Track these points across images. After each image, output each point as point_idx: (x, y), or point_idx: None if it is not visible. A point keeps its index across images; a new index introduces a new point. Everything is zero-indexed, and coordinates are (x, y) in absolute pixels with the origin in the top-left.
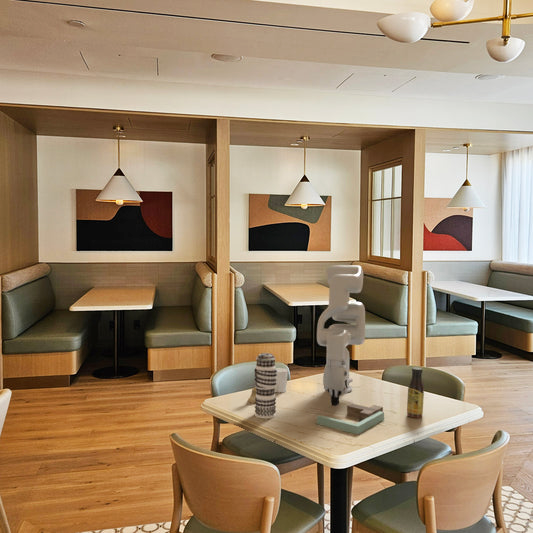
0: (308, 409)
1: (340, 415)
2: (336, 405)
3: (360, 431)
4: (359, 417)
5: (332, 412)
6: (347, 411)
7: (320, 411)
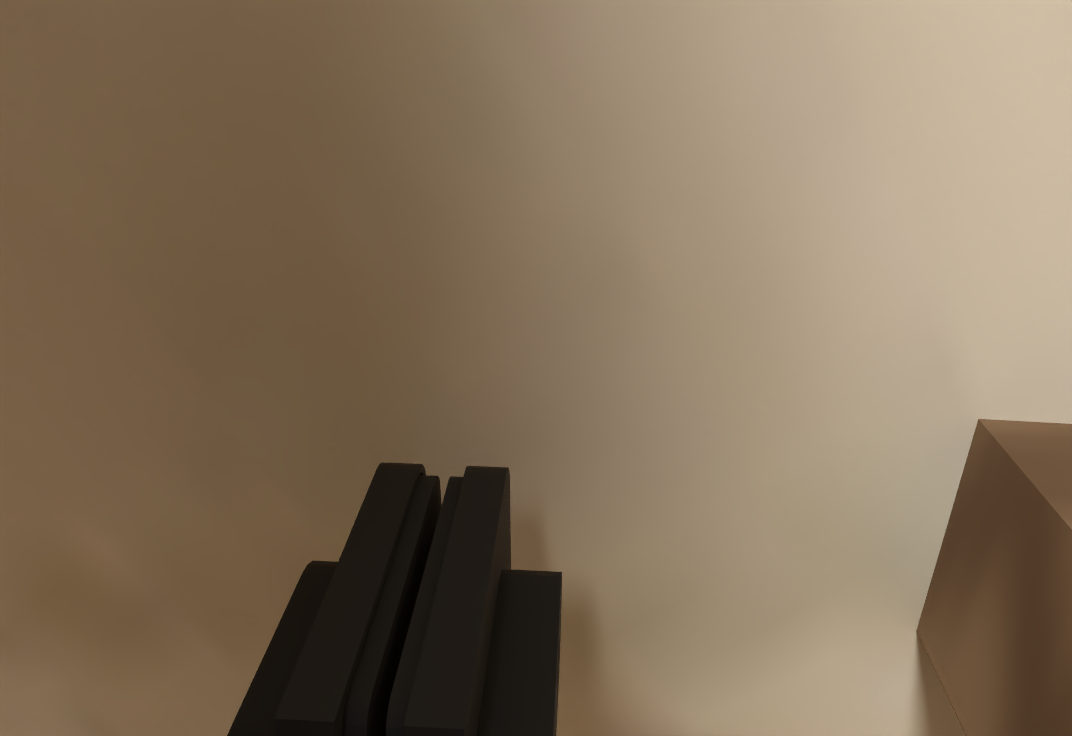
0: (26, 721)
1: (781, 701)
2: (508, 563)
3: None
4: None
5: None
6: (974, 715)
7: None
